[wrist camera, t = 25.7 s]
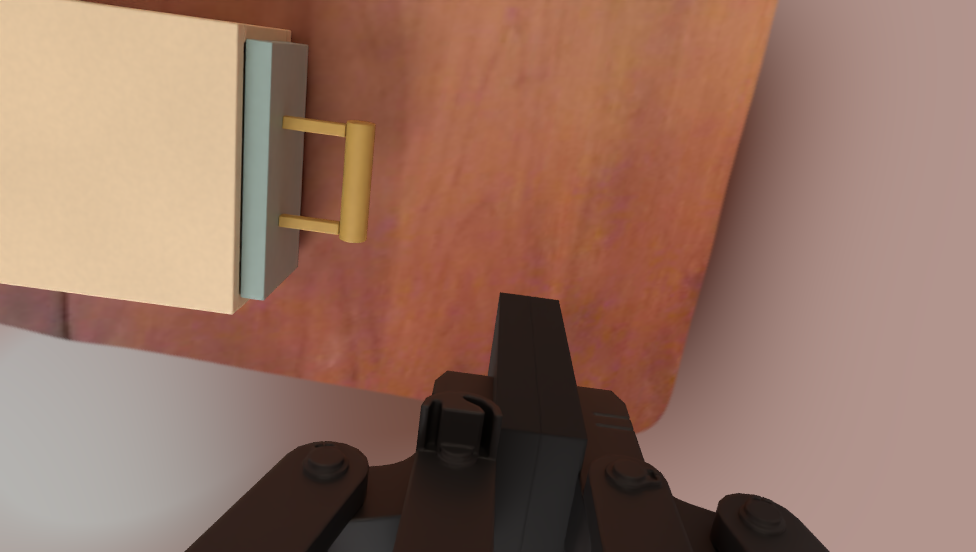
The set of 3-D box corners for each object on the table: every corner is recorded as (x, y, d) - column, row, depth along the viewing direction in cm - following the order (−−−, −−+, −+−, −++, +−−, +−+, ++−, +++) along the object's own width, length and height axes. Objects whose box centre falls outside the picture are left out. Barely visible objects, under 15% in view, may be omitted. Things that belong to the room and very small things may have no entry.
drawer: (393, 56, 36) (372, 56, 30) (374, 277, 40) (352, 312, 34) (34, 6, 36) (-53, -4, 30) (49, 233, 39) (-25, 262, 34)
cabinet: (291, 30, 36) (238, 23, 29) (282, 269, 41) (232, 315, 33) (1, -11, 36) (-126, -28, 29) (21, 234, 40) (-85, 272, 33)
